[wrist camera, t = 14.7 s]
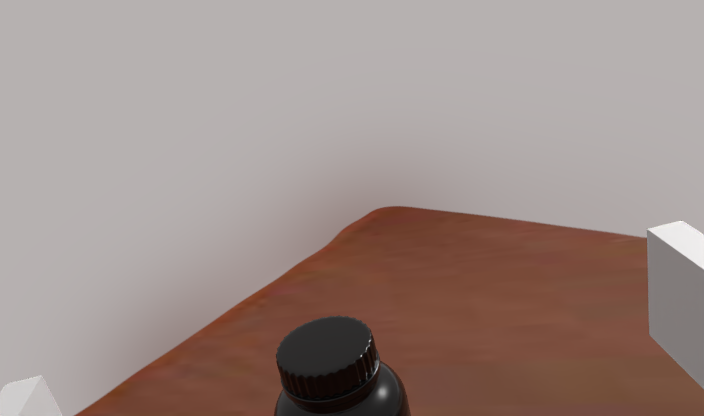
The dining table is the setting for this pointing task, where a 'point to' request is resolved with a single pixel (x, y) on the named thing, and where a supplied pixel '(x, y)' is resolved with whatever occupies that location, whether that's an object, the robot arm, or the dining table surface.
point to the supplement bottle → (336, 372)
